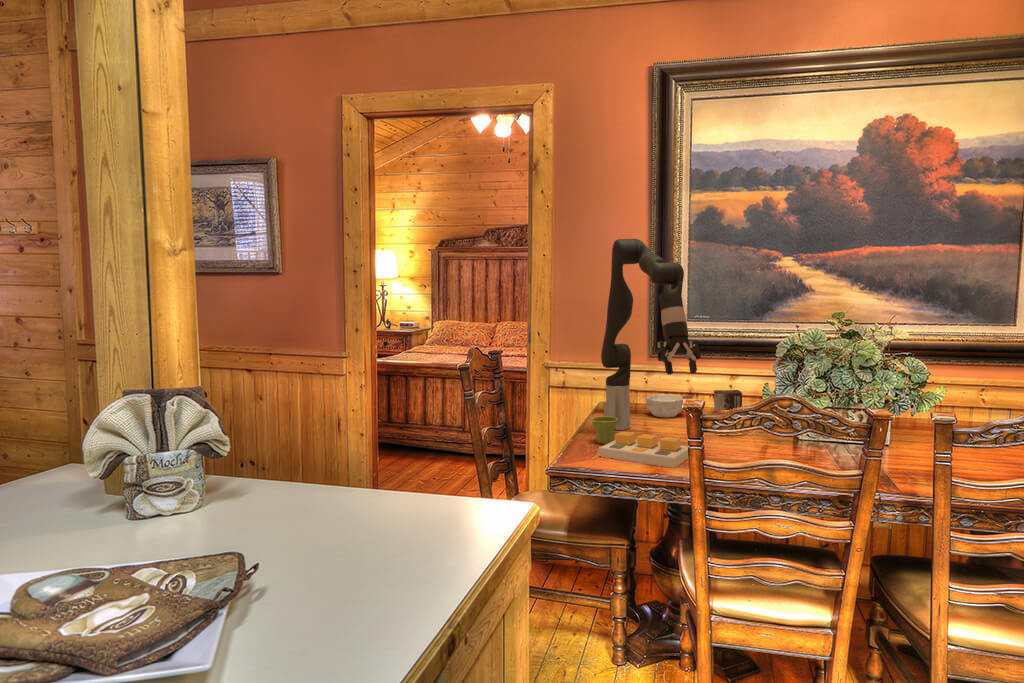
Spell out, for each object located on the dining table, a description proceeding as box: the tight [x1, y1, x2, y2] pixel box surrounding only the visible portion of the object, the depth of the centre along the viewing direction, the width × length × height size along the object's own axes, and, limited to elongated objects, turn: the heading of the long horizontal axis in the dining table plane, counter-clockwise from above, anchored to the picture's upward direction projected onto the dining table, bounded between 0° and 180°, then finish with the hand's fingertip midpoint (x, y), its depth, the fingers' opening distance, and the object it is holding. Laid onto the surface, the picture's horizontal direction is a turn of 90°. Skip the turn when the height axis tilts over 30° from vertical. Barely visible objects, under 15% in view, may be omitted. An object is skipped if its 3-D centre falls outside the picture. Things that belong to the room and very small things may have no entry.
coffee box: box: [713, 389, 744, 435], centre depth 243 cm, size 9×6×16 cm
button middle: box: [636, 433, 659, 448], centre depth 218 cm, size 5×5×3 cm
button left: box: [615, 430, 637, 445], centre depth 223 cm, size 5×5×3 cm
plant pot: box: [591, 416, 618, 445], centre depth 236 cm, size 9×9×9 cm
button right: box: [659, 436, 682, 451], centre depth 213 cm, size 5×5×3 cm
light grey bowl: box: [645, 393, 684, 419], centre depth 278 cm, size 15×15×8 cm
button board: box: [598, 439, 689, 469], centre depth 217 cm, size 26×16×3 cm, turn 55°
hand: (681, 373), depth 203 cm, fingers open, 8 cm apart
